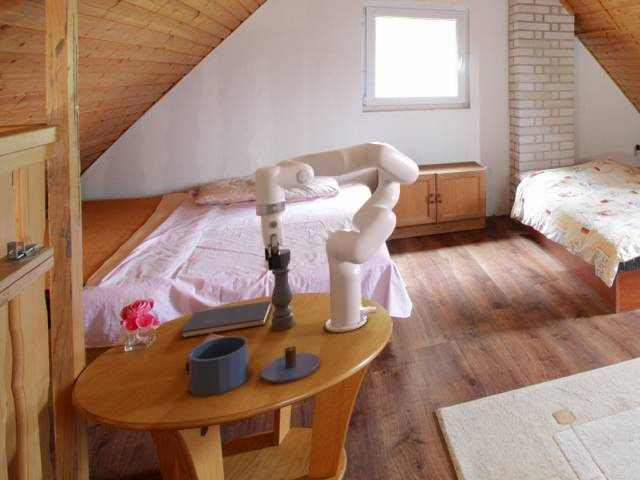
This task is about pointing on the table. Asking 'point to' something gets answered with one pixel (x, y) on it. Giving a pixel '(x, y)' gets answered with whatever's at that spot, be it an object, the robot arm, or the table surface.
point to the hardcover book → (226, 319)
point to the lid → (290, 366)
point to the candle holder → (282, 295)
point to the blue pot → (218, 365)
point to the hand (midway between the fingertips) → (273, 264)
